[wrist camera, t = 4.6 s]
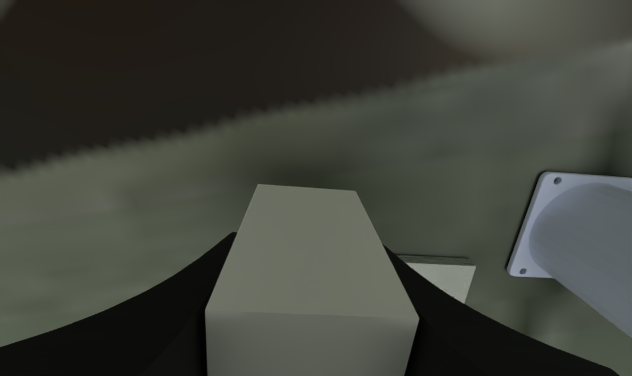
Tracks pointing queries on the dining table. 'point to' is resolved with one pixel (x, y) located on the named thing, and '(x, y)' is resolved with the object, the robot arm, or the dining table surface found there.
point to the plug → (308, 292)
